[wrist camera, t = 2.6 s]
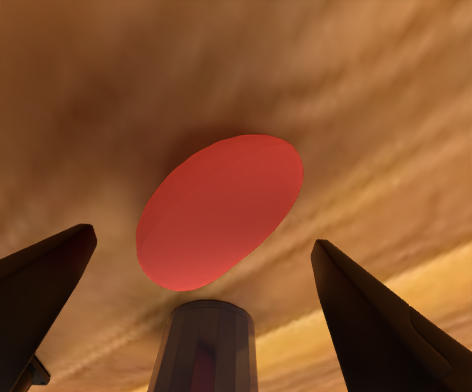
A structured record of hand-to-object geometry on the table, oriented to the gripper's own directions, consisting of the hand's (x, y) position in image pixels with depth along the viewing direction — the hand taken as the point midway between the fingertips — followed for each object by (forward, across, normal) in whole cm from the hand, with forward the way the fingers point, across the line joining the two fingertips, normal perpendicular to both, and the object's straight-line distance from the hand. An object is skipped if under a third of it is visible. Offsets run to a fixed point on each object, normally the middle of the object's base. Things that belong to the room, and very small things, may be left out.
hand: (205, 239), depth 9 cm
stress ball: (+4, 0, 0) cm, 4 cm away
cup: (+4, 0, +13) cm, 14 cm away
